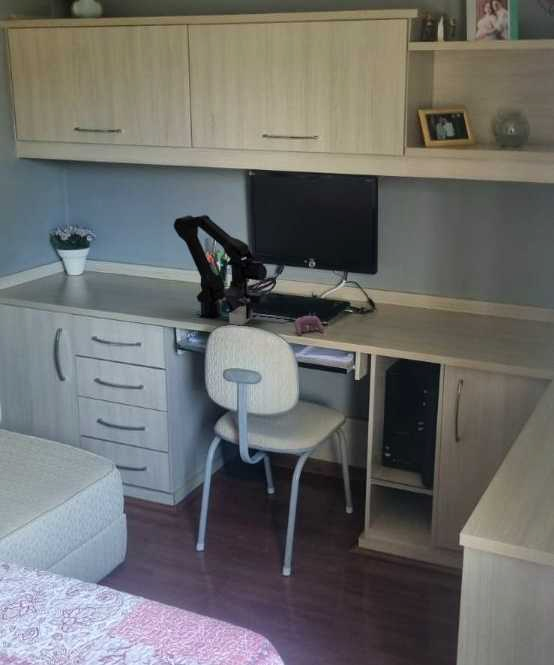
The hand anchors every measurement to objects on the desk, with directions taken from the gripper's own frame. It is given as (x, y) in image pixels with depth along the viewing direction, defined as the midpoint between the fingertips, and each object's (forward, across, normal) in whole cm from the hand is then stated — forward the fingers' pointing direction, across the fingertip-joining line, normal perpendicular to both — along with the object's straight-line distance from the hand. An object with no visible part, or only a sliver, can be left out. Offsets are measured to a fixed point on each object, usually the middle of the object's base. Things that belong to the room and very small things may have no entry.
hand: (241, 318), depth 326 cm
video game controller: (+1, +28, -4) cm, 29 cm away
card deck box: (+1, 0, 0) cm, 1 cm away
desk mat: (+1, +10, +8) cm, 13 cm away
